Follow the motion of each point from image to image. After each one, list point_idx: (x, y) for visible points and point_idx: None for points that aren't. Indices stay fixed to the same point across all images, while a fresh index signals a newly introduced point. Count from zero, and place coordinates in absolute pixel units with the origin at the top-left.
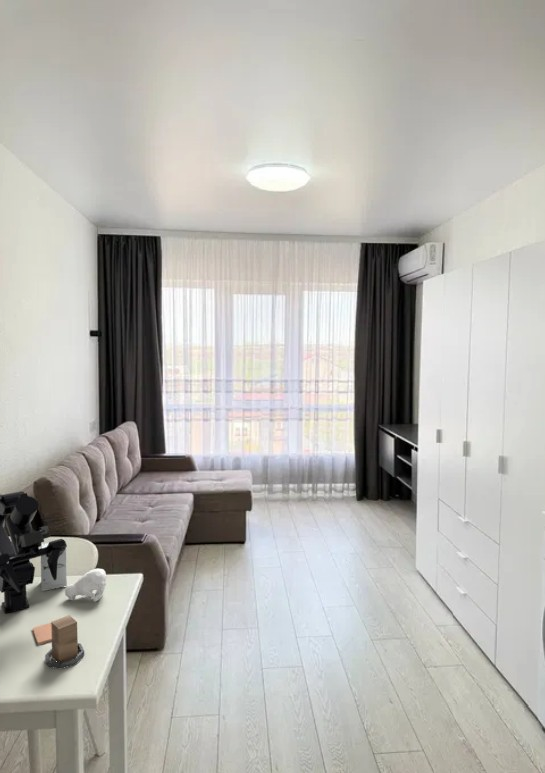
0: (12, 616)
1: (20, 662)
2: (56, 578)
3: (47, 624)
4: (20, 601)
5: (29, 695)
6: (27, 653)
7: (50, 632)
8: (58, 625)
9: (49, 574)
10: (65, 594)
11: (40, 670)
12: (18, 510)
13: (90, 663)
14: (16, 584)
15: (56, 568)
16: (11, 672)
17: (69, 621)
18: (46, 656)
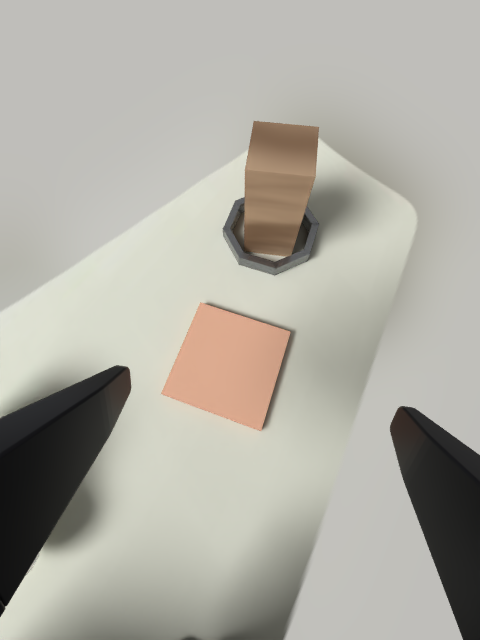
0: (262, 623)
1: (357, 297)
2: (118, 365)
3: (217, 408)
4: None
5: (383, 185)
6: (327, 320)
7: (238, 353)
8: (308, 142)
9: None
10: (36, 558)
11: (333, 234)
12: None
13: (244, 179)
14: (457, 443)
15: (40, 402)
16: (388, 277)
17: (269, 138)
18: (311, 245)
